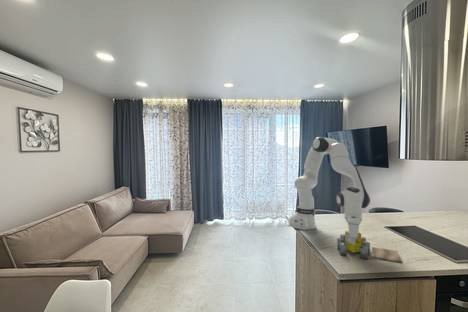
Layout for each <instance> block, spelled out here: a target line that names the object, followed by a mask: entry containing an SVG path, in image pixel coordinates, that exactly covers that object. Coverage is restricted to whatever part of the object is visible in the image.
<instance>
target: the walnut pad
mask: <svg viewBox="0 0 468 312" xmlns="http://www.w3.org/2000/svg"><path fill="white" fill-rule="evenodd" d="M371 250H372V253H373V258H374V259H376V260H381V261H387V262H393V263H400V264H402V263H403V261H402V259H401V256H400V255H399V252H398V251H397V250H394V249H386V248H380V247H375V246H372V247H371Z"/></svg>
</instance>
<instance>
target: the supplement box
mask: <svg viewBox="0 0 468 312" xmlns="http://www.w3.org/2000/svg"><path fill="white" fill-rule="evenodd" d="M344 235H345V243H346V244H347V252H349V253H351V254H353V255H356V254H360V246H361V237H362V233H360V232H358V238H356V240H355V244H352V239H351V238H350V234H349V230H345V232H344Z"/></svg>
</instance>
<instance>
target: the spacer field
mask: <svg viewBox="0 0 468 312" xmlns="http://www.w3.org/2000/svg"><path fill="white" fill-rule="evenodd" d="M339 235H340V237H337V238H336V243H337V244H336V247H337V250H338V251H339V255H340V256H342V257H347V256H348V251H347V244H346V243H345V233H343V234H342V233H341V234H339ZM370 255H371V242H369V241H367V238H366V237H364V236H361V246H360V253H359V258H360V259H361V260H364V261H366V260H367V261H368V260H369V256H370Z"/></svg>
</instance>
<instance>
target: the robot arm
mask: <svg viewBox="0 0 468 312" xmlns="http://www.w3.org/2000/svg"><path fill="white" fill-rule="evenodd" d="M325 155H329V159H330V160H329V161H330V165H331V168H332V169H333V170H334V171H335V172H337V173H338V174H341V175H344V176H347V177H348V178H349V179H351V180H352V183H353V186H354V187H346V188H345V190H343V191H339V192H338V193H337V194H336V196H335V199H336V200H335V202H336V204H337V205H338V206H339V207H341V208H344V219H345V220H346V223H347V225H348V231H349V234H350V238H351V239H352V244H355V240H356V238H358V233H359V231H360V230H359V229H360V225H361V223H362V221H363V210H362V209H365V208H367V207H368V206H369V205H370V204H371V198H370V195H369V194H368V192H367V190H366V188H365V186H364V182H363V179H362V177H361V175H360V173H359V170H358V168H357V167H356V166H354V165H353V163H352V162H351V160H350V155H349V153H348V149H347V147H346V144H344V143H343V142H341V141H340V140H338V139H334V138H330V137H329V138H328V137H324V136H318V137H315V138H314V139H313V141H312V145H311V147H310V148H309V151H308V153H307V155H306V158H305V161H304V165H303V169H304V171H303V175H301V176H298V177H297V178H296V179H295V180H294V182H293V183H294V187H295V190H296V191H297V194H298V206H296V209H295V212H294V213H293V214H291V215H290V216H289V218H288V221H286V222H285V226H286V227H289V228H294V229H299V230H304V231H308V230H314V229H316V228H317V225H316V220H315V219H316V218H315V215H316V210H315V197H314V196H313V191H312V189H314V188H315V187H316V186H317V185H318V183H319V182H318V177H319V171H320V167H321V165H322V162H323V159H324V156H325Z"/></svg>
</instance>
